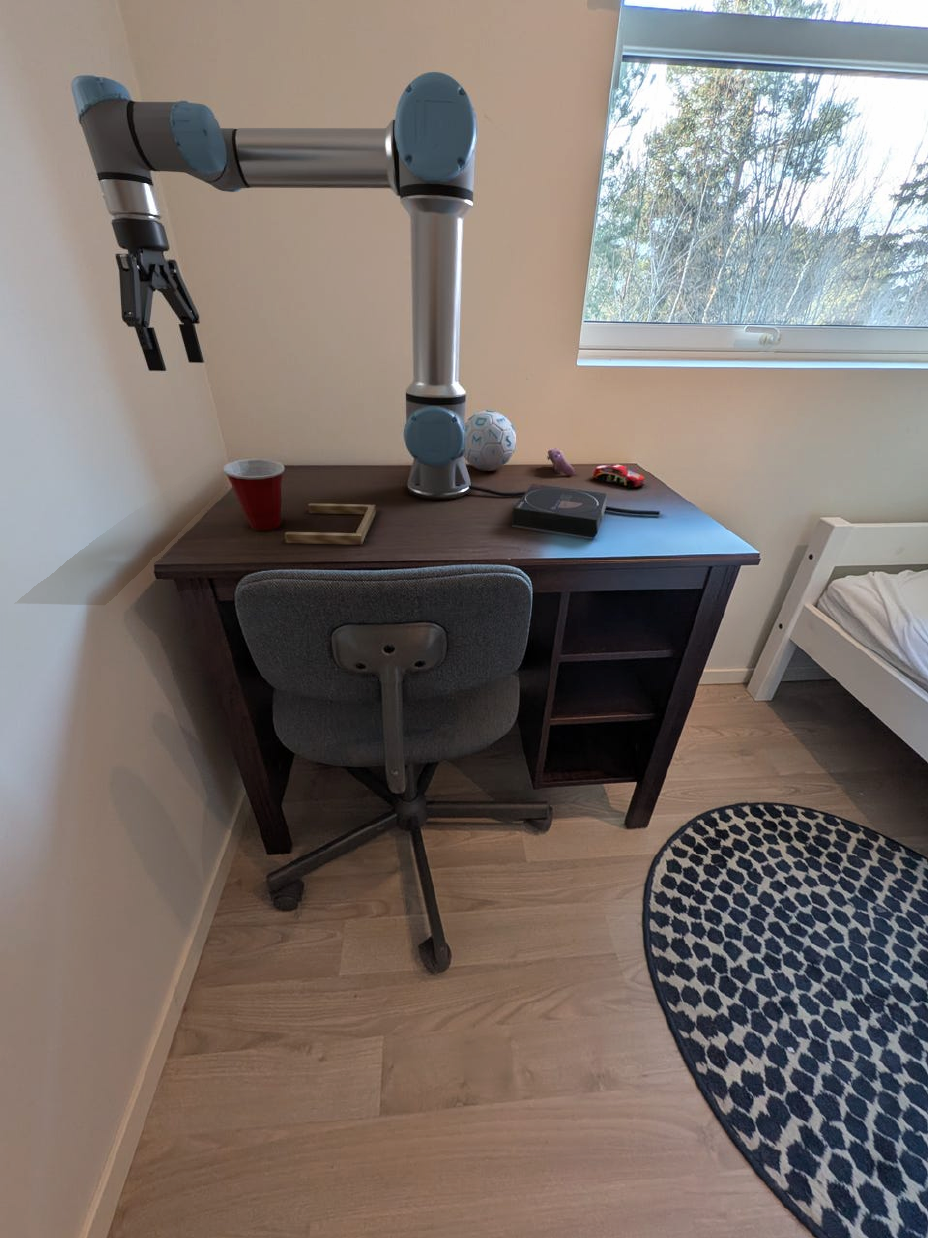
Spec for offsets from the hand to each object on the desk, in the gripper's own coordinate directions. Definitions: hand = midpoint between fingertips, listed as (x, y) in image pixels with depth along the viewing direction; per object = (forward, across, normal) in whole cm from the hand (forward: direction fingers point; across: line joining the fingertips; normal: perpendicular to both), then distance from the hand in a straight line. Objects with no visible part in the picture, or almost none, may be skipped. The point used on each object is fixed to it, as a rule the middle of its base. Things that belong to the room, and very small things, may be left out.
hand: (178, 366), depth 89 cm
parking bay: (+27, +9, +28) cm, 40 cm away
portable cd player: (+28, +1, +75) cm, 80 cm away
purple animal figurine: (+28, -34, +79) cm, 90 cm away
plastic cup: (+28, +10, +15) cm, 33 cm away
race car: (+28, -25, +93) cm, 101 cm away
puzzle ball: (+28, -33, +59) cm, 73 cm away
